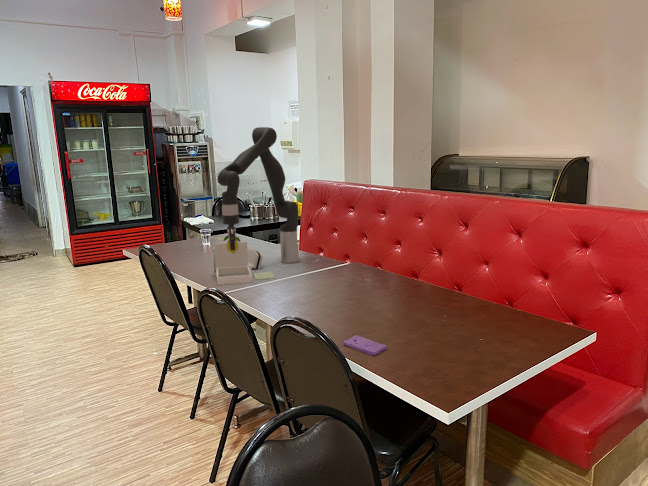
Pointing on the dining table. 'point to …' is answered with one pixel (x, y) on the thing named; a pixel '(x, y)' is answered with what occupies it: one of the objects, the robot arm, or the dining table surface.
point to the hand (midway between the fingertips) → (232, 248)
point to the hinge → (254, 259)
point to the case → (231, 264)
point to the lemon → (229, 244)
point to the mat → (263, 275)
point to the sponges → (364, 345)
